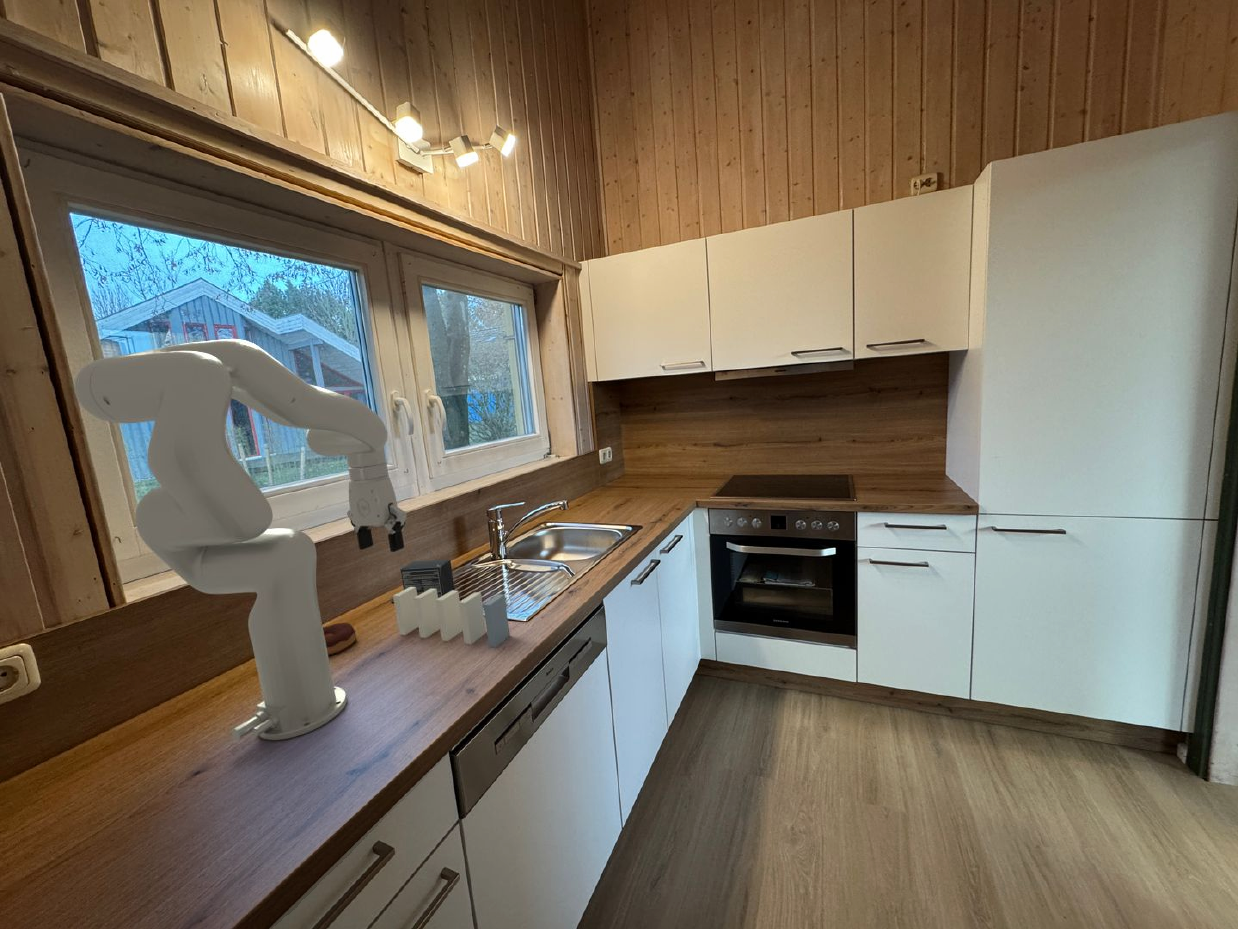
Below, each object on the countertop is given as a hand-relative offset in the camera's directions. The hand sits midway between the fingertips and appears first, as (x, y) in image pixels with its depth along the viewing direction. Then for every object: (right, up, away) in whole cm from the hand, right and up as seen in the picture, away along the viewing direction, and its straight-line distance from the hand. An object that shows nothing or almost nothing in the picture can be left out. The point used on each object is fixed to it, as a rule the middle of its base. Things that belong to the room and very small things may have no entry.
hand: (381, 548), depth 110 cm
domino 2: (+12, -18, -2) cm, 22 cm away
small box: (+6, -16, +15) cm, 23 cm away
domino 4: (+23, -18, -7) cm, 30 cm away
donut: (-9, -21, -4) cm, 23 cm away
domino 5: (+28, -17, -9) cm, 34 cm away
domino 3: (+17, -18, -4) cm, 25 cm away
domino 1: (+6, -18, 0) cm, 19 cm away
